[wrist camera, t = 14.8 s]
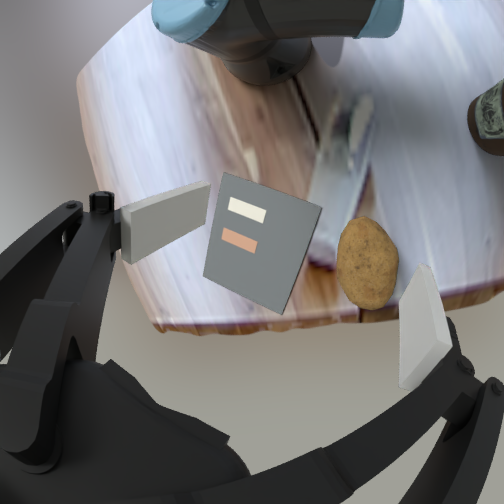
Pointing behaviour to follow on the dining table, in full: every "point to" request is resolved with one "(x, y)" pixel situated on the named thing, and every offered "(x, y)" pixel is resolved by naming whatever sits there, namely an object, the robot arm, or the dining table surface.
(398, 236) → the dining table surface
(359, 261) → the potato
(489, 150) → the olive oil
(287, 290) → the tile
